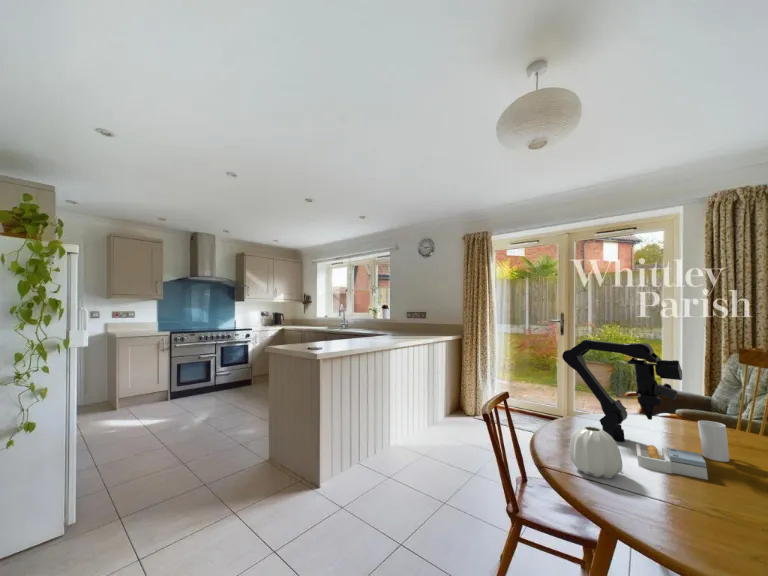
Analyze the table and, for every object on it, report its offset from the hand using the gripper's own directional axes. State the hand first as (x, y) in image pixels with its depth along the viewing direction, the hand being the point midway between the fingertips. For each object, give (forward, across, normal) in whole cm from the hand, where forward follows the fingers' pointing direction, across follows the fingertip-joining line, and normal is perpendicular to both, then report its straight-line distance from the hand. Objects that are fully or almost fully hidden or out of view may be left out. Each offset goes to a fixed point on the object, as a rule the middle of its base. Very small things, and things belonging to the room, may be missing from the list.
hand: (649, 419), depth 116 cm
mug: (+11, +3, -17) cm, 21 cm away
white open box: (+11, -13, -3) cm, 17 cm away
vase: (+11, -32, +16) cm, 37 cm away
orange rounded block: (+10, -10, 0) cm, 14 cm away
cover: (+7, -17, -7) cm, 20 cm away
